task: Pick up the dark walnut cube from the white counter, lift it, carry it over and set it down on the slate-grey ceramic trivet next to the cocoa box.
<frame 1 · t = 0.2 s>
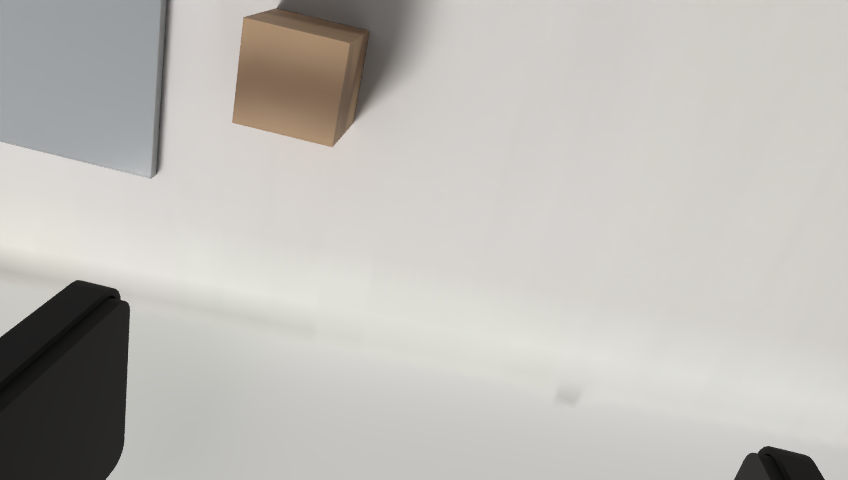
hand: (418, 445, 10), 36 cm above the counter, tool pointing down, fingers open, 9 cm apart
walnut cube: (316, 67, 45), on the counter
trivet: (74, 70, 46), on the counter
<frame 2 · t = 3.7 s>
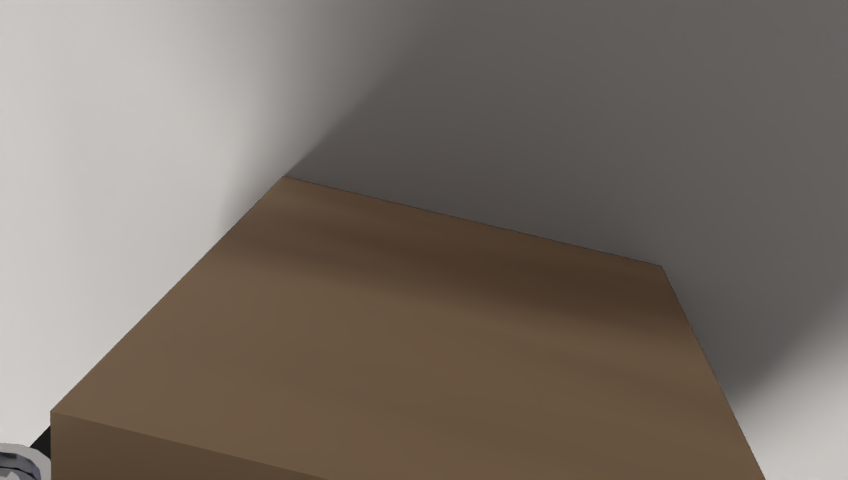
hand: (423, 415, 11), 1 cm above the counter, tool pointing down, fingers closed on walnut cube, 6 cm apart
walnut cube: (430, 379, 12), on the counter, touching gripper
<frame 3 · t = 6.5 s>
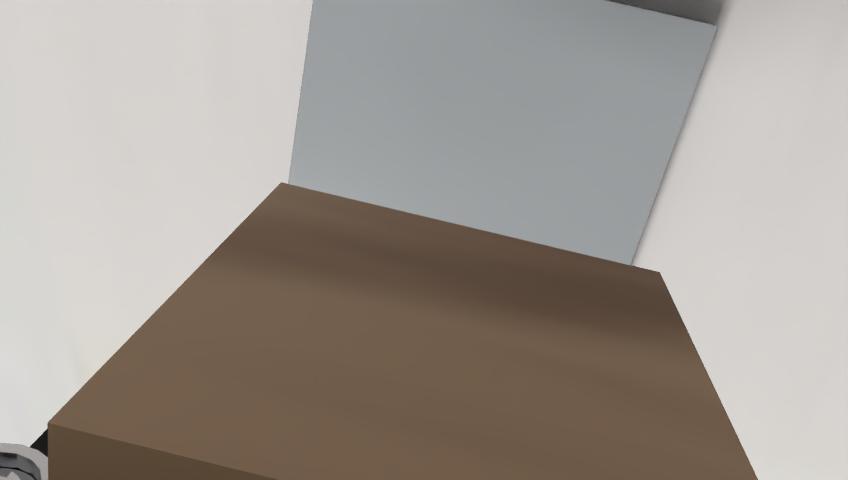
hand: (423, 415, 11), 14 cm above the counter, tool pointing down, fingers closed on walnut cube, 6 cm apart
walnut cube: (428, 384, 12), point 13 cm above the counter, touching gripper
trivet: (472, 163, 24), on the counter
when the fingers open (3 cm above the counter, at t = 9.2 s): walnut cube drops 1 cm, resting on trivet.
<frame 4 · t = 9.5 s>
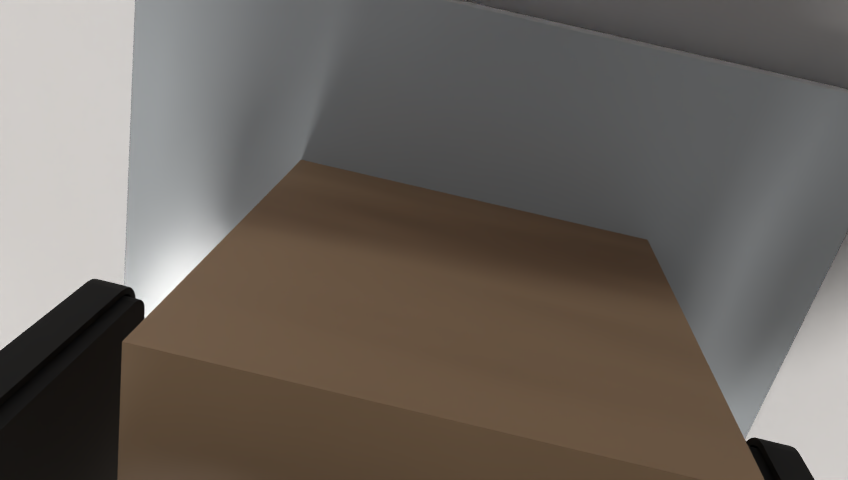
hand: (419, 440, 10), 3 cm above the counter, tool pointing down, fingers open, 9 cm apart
walnut cube: (436, 347, 13), point 1 cm above the counter, touching trivet
trivet: (439, 326, 14), on the counter
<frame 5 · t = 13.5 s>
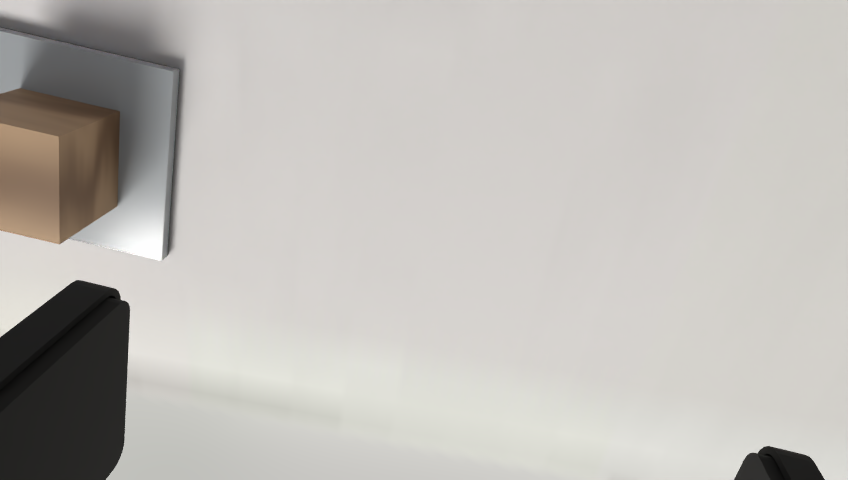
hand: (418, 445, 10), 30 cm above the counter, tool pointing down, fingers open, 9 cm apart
walnut cube: (70, 148, 41), point 1 cm above the counter, touching trivet
trivet: (77, 145, 42), on the counter
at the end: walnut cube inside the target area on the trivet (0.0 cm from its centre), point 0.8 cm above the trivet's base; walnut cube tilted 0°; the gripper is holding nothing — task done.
